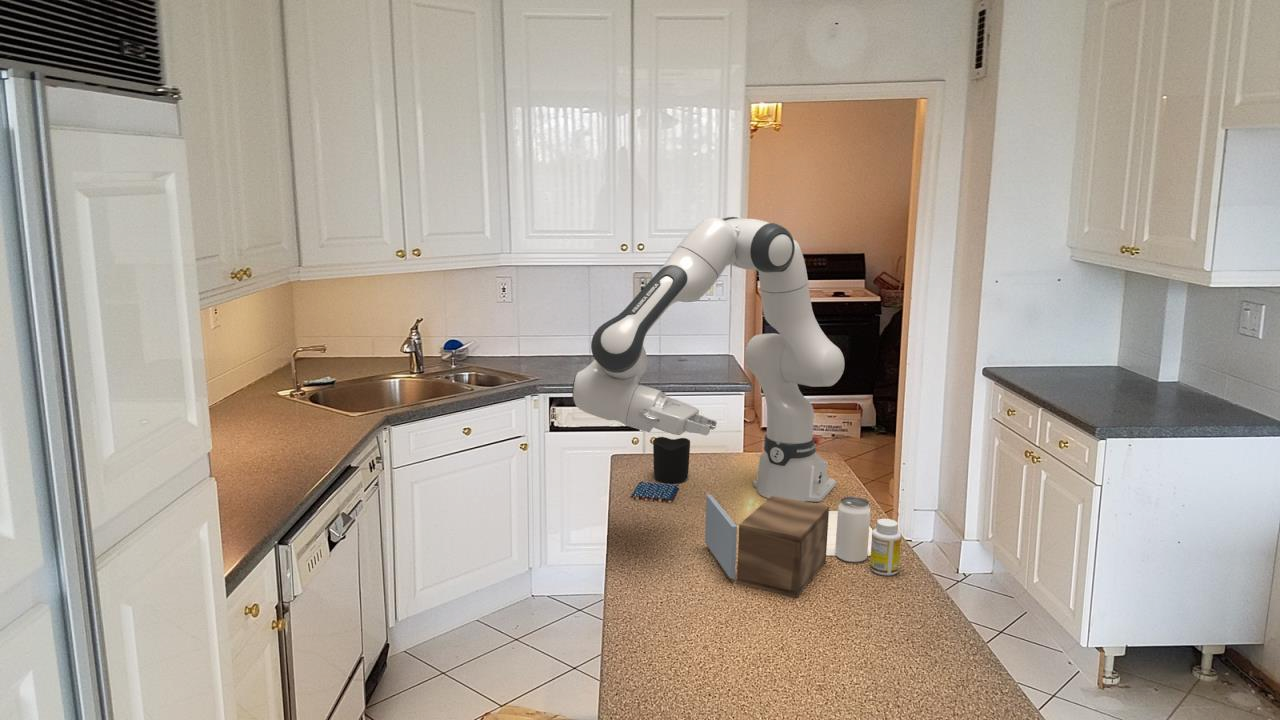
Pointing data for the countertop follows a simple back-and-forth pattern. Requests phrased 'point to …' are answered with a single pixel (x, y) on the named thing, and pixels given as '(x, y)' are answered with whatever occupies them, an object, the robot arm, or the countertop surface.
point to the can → (852, 529)
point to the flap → (721, 535)
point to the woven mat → (655, 492)
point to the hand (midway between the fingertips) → (712, 428)
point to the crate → (782, 545)
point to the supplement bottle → (885, 547)
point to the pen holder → (671, 459)
